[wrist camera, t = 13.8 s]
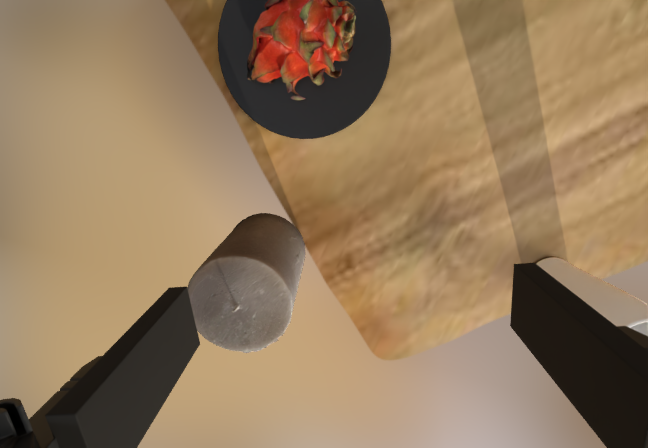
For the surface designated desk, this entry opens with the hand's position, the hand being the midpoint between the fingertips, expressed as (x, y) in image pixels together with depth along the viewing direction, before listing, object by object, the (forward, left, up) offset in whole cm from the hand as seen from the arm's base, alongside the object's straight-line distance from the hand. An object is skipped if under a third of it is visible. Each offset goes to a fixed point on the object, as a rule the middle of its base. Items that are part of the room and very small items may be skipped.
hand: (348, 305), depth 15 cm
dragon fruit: (+3, -14, -28) cm, 32 cm away
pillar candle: (+10, +8, -29) cm, 32 cm away
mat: (+3, -14, -29) cm, 32 cm away
